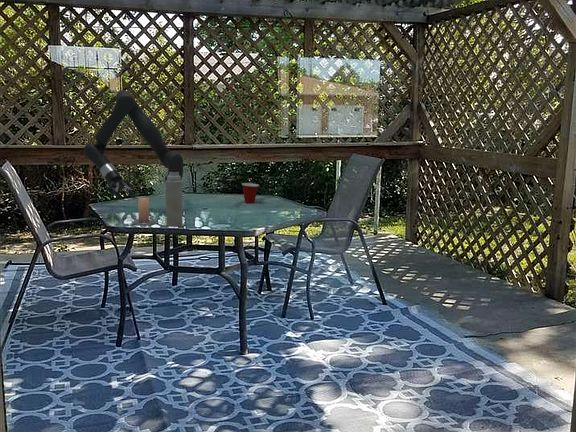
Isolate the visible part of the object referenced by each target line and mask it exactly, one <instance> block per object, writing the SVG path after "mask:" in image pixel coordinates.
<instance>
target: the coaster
mask: <svg viewBox="0 0 576 432" xmlns="http://www.w3.org/2000/svg"><path fill="white" fill-rule="evenodd" d="M131 224H132V225H135V226H152V225H154V224H157V221H156V220H154V219H149V222H147V223H141V222H139V219H136V220H132V221H131Z"/></svg>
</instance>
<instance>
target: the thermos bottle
mask: <svg viewBox="0 0 576 432" xmlns="http://www.w3.org/2000/svg"><path fill="white" fill-rule="evenodd" d="M178 171H179V170H177V169H170V170H169V175H168V174H167V175H168V176H167V175H166V176H167V181H166V212H165V217H166V219H165V221H166V223H165V224H166V226H167V227H175V228H176V227H181V226H183V213H182V208H183V180H182V181H181V176H179V172H178Z"/></svg>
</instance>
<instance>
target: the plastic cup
mask: <svg viewBox="0 0 576 432" xmlns="http://www.w3.org/2000/svg"><path fill="white" fill-rule="evenodd" d="M241 186H242V191H243V192H242V193H243V198H244V203H245V204H251V205H252V204H255V202H256V197H257V192H258V188H259V186H260V184H258V183H251V182H242V183H241Z"/></svg>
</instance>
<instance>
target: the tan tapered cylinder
mask: <svg viewBox="0 0 576 432" xmlns="http://www.w3.org/2000/svg"><path fill="white" fill-rule="evenodd" d="M137 200H138V203H137V204H138V205H137V206H138V220H139V222H141V223H147V222H149V220H150V205H149V204H150V198H149V197H138V198H137Z"/></svg>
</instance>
